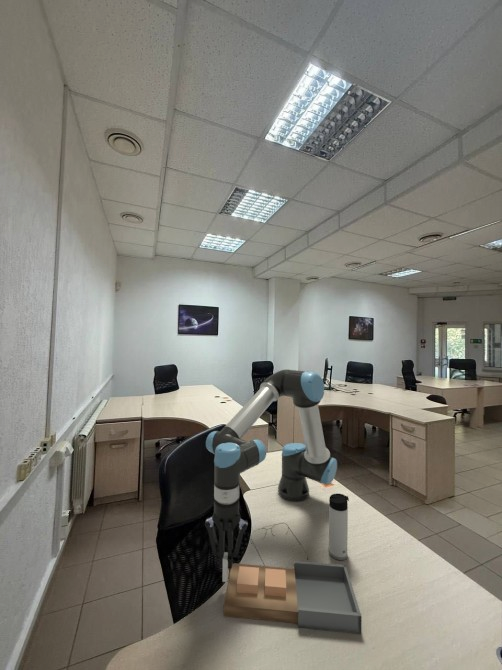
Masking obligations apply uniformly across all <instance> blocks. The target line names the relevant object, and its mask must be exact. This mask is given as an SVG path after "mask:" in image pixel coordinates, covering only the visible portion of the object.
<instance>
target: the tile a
mask: <svg viewBox="0 0 502 670" xmlns="http://www.w3.org/2000/svg"><path fill="white" fill-rule="evenodd" d="M258 583H259V568H255V567H244V566H239V573H238V579H237V592H239V593H250V594H258Z"/></svg>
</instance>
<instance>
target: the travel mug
mask: <svg viewBox="0 0 502 670" xmlns="http://www.w3.org/2000/svg"><path fill="white" fill-rule="evenodd" d="M348 502H350V499H349V496H347V495H345V494H342V493H332V494H331V495H329V502H328V554H329V555H330V557H332V558H333V559H334V560H336V561H337V560H338V561H344V560H346V559H347V558H348V540H349V539H348V536H349V534H348V529H349V527H348V525H349V524H348V520H349V519H348V515H349V514H348V513H349V512H348V508H349V507H348Z"/></svg>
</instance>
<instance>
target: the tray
mask: <svg viewBox="0 0 502 670" xmlns="http://www.w3.org/2000/svg"><path fill="white" fill-rule="evenodd" d="M293 564H294V565H293V568H294V569H295V581H296V593H297V604H298V623H297V627H298V628H301V629H310V630H321V631H327V632H328V631H330V632H340V633H348V634H361V635H362V613H361V609H360V607H359V602H358V600H357V598H356V593H355V591H354V586H353V584H352V580H351V578H350V575H349V571H348V568H347V566H346V564H337V563H323V562H311V561H310V562H309V561H300V560H299V561H298V560H294V561H293Z"/></svg>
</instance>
